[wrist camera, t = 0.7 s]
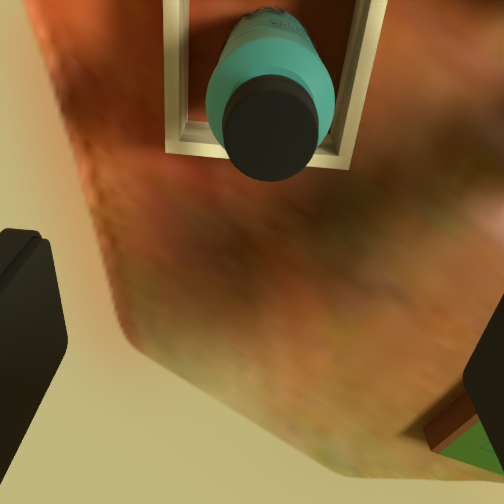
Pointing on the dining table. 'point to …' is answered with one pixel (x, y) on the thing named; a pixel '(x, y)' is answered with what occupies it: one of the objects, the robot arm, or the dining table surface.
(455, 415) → the hardcover book
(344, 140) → the wooden frame
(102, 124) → the dining table surface
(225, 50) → the beverage bottle
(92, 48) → the dining table surface
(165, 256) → the dining table surface
